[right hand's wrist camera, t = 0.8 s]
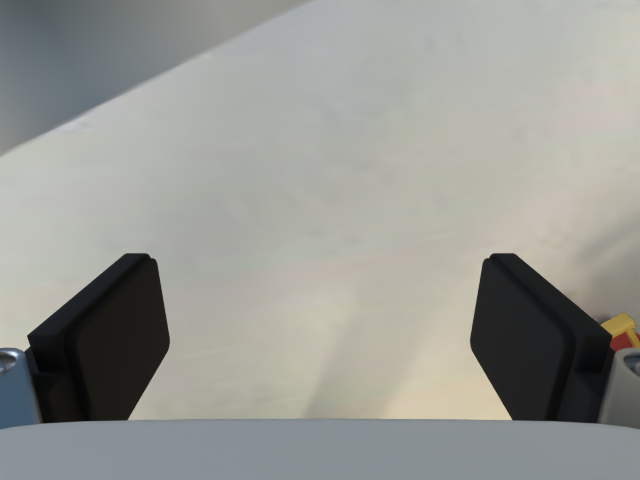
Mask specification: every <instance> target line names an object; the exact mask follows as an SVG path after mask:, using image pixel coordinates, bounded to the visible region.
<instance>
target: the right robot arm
mask: <svg viewBox="0 0 640 480" xmlns="http://www.w3.org/2000/svg"><path fill="white" fill-rule="evenodd" d="M27 337H28V340H29V343H30V347H29V348H28V349H27V350H26V351H25V352H23V351H22V350H19V349H17V348H0V480H640V348H623V349H621V350H618V351H617V352H615V351H614V350H613V349H612V348H611V347H610V343H611V340H612V337H613V335H611V334H610V333H609V332H608V331H607V330H605V329H604V328H603V327H602V326H601V325H599V324H598V323H597V322H596V321H595V320H594V319H592V318H591V317H590V316H589V315H588V314H586V313H585V312H584V311H583V310H582V309H580V308H579V307H578V306H577V305H576V304H574V303H573V302H572V301H571V300H570V299H568V298H567V297H566V296H565V295H564V294H562V293H561V292H560V291H559V290H558V289H556V288H555V287H554V286H553V285H552V284H550V283H549V282H548V281H547V280H546V279H544V278H543V277H542V276H541V275H540V274H538V273H537V272H536V271H535V270H534V269H532V268H531V267H530V266H529V265H528V264H526V263H525V262H524V261H523V260H522V259H520V258H519V257H518V256H517V255H516V254H514V253H494V254H492V255H491V256H490V258H486V259H485V260H484V262H483V265H482V271H481V277H480V283H479V289H478V295H477V301H476V307H475V313H474V319H473V325H472V331H471V337H470V344H471V349H472V351H473V353H474V355H475V357H476V358H477V360H478V362H479V364H480V365H481V367H482V369H483V370H484V372H485V374H486V375H487V377H488V379H489V381H490V382H491V384H492V386H493V387H494V389H495V391H496V393H497V394H498V396H499V398H500V399H501V401H502V403H503V405H504V406H505V408H506V410H507V411H508V413H509V415H510V416H511V418H512V420H513V421H510V420H456V419H184V420H130V421H127V420H128V418H129V416H130V415H131V413H132V411H133V410H134V408H135V406H136V405H137V403H138V401H139V399H140V398H141V396H142V394H143V393H144V391H145V389H146V387H147V386H148V384H149V382H150V381H151V379H152V377H153V375H154V374H155V372H156V370H157V369H158V367H159V365H160V364H161V362H162V360H163V358H164V357H165V355H166V353H167V351H168V349H169V344H170V337H169V331H168V325H167V319H166V313H165V307H164V301H163V295H162V289H161V283H160V277H159V271H158V265H157V262H156V260H155V259H154V258H150V256H149V255H148V254H146V253H126V254H124V255H123V256H122V257H121V258H119V259H118V260H117V261H116V262H115V263H114V264H112V265H111V266H110V267H109V268H108V269H106V270H105V271H104V272H103V273H102V274H100V275H99V276H98V277H97V278H96V279H94V280H93V281H92V282H91V283H90V284H88V285H87V286H86V287H85V288H84V289H82V290H81V291H80V292H79V293H78V294H76V295H75V296H74V297H73V298H72V299H70V300H69V301H68V302H67V303H66V304H64V305H63V306H62V307H61V308H60V309H58V310H57V311H56V312H55V313H54V314H52V315H51V316H50V317H49V318H48V319H46V320H45V321H44V322H43V323H42V324H41V325H39V326H38V327H37V328H36V329H35V330H33V331H32V332H31V333H30V334H29V335H27Z"/></svg>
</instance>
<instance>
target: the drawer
mask: <svg viewBox="0 0 640 480" xmlns="http://www.w3.org/2000/svg"><path fill="white" fill-rule="evenodd" d="M600 325H601V326H602V327H603V328H604V329H605V330H607V331H608V332H609V333H610V334H611V335H613V337H612V340H611V343H610V347H611V348H612V349H613V350H614V351H615V352H617V351H618V350H621V349H623V348H640V336H639V335H638V334H637V333H635V332H634V330H633V328H634V327H636V325H635V323H634V321H633V320H632V319H631V318H630V317H629V316H628V315H627V314H625V313H621V314H619V315H617V316H616V317H614V318H612V319H610V320H608V321H606V322H604V323H602V324H600Z"/></svg>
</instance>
